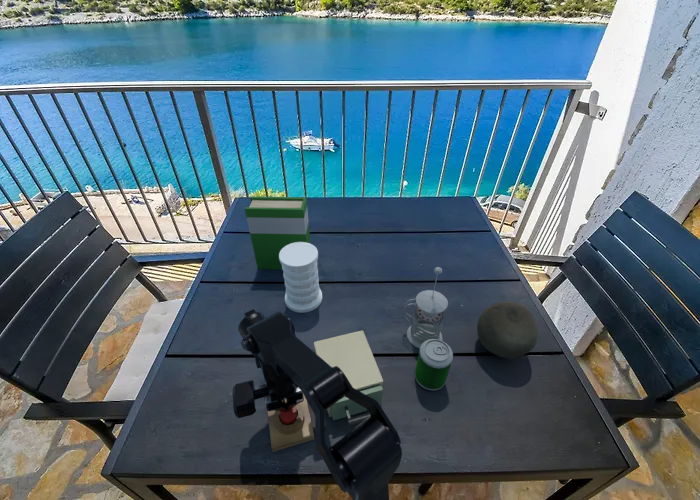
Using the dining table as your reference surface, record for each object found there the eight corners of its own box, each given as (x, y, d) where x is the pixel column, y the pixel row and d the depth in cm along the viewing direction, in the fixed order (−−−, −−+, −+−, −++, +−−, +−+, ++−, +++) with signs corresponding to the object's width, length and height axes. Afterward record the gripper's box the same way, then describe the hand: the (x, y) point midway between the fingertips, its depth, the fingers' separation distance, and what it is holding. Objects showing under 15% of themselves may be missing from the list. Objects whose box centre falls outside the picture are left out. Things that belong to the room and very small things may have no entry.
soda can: (447, 393, 84) (457, 364, 76) (416, 392, 84) (423, 364, 76) (441, 365, 90) (450, 336, 82) (412, 365, 90) (418, 336, 82)
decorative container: (316, 315, 103) (312, 270, 92) (279, 309, 105) (270, 263, 94) (326, 288, 112) (324, 244, 100) (292, 283, 114) (286, 238, 102)
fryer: (381, 402, 82) (383, 381, 76) (329, 417, 79) (327, 396, 73) (362, 351, 93) (362, 330, 87) (315, 363, 90) (313, 341, 84)
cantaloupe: (463, 353, 92) (476, 316, 83) (480, 319, 102) (494, 282, 92) (519, 381, 86) (539, 344, 77) (531, 342, 95) (551, 304, 86)
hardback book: (257, 268, 119) (244, 208, 104) (262, 255, 125) (250, 196, 110) (309, 269, 119) (303, 209, 104) (311, 256, 124) (306, 197, 110)
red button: (298, 422, 75) (297, 418, 74) (281, 426, 74) (280, 423, 73) (295, 406, 78) (294, 402, 77) (279, 411, 77) (278, 407, 76)
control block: (314, 439, 75) (313, 432, 73) (272, 452, 73) (270, 445, 71) (305, 397, 83) (304, 389, 81) (267, 407, 81) (265, 400, 79)
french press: (440, 354, 92) (458, 286, 77) (397, 342, 95) (406, 275, 80) (444, 326, 100) (461, 259, 84) (404, 316, 102) (414, 250, 87)
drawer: (388, 425, 77) (390, 408, 72) (338, 440, 74) (337, 424, 70) (362, 358, 90) (363, 340, 86) (320, 369, 88) (318, 351, 83)
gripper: (317, 323, 73) (321, 366, 82) (225, 344, 69) (240, 387, 78) (330, 368, 64) (333, 410, 74) (226, 396, 60) (243, 436, 70)
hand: (287, 409), depth 74 cm, fingers closed
